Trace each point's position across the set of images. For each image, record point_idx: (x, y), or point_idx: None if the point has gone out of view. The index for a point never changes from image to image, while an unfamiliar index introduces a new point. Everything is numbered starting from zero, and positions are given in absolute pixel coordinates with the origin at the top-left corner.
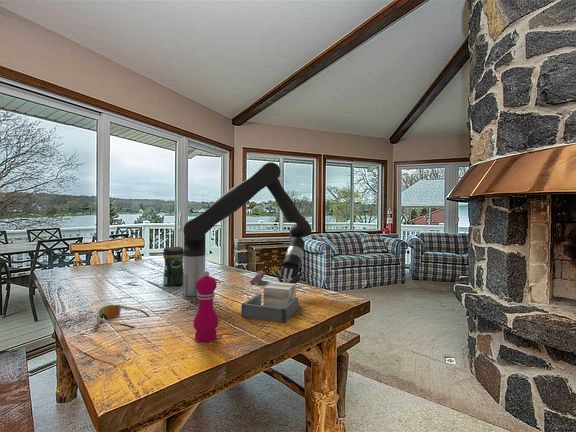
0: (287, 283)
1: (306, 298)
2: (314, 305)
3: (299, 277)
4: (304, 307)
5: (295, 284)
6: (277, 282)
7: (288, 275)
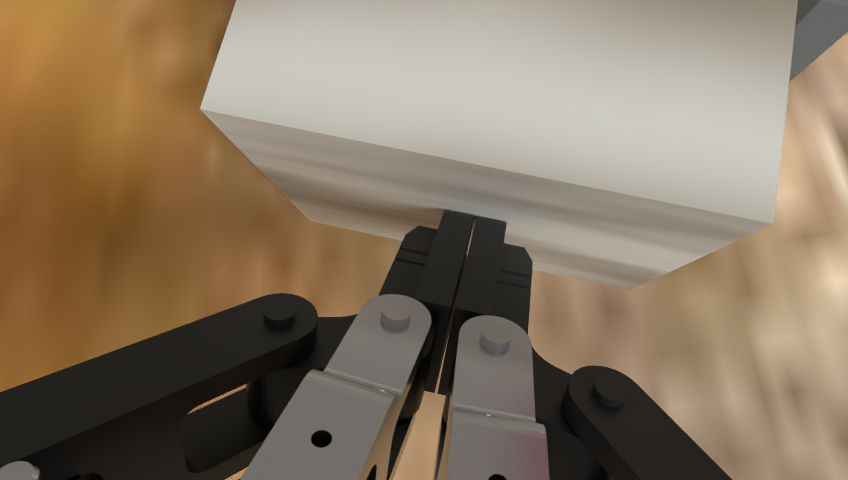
0: (389, 109)
1: None
2: (81, 163)
3: (34, 406)
4: (204, 76)
5: (212, 86)
6: (640, 166)
7: (370, 438)
